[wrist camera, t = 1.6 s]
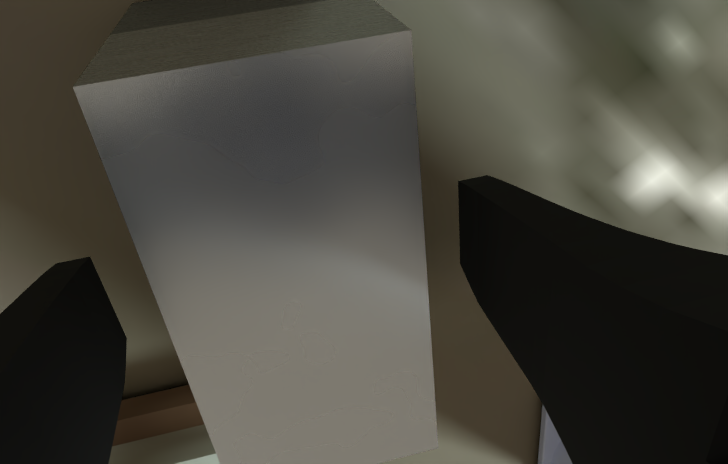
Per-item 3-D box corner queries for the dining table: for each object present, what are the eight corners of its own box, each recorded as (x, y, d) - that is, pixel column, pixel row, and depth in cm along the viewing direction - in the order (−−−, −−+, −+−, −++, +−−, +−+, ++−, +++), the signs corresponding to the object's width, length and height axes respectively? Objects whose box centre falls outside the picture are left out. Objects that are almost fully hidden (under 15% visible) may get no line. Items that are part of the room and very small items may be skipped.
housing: (337, -29, 13) (411, 30, 8) (377, 288, 18) (438, 448, 13) (132, 3, 12) (73, 86, 7) (230, 319, 17) (234, 500, 12)
